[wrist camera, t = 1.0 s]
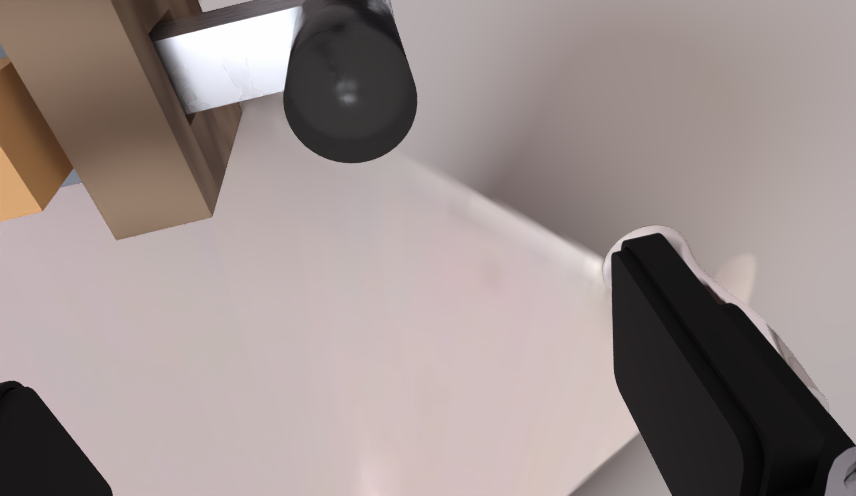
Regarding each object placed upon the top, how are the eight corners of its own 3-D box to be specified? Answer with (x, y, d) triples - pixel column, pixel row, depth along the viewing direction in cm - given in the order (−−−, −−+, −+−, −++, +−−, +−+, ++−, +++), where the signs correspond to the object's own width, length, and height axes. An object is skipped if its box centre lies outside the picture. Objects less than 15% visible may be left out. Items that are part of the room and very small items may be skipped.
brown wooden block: (78, -68, 29) (-34, -16, 20) (162, -89, 29) (89, -45, 20) (171, 130, 35) (116, 240, 26) (242, 112, 35) (212, 217, 26)
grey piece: (-69, 65, 26) (-247, 178, 18) (378, -44, 26) (401, 21, 18) (-12, 150, 29) (-148, 285, 20) (399, 51, 29) (428, 146, 20)
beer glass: (641, 314, 47) (751, 490, 35) (575, 275, 44) (670, 452, 32) (713, 247, 45) (860, 412, 32) (647, 201, 42) (782, 363, 29)
